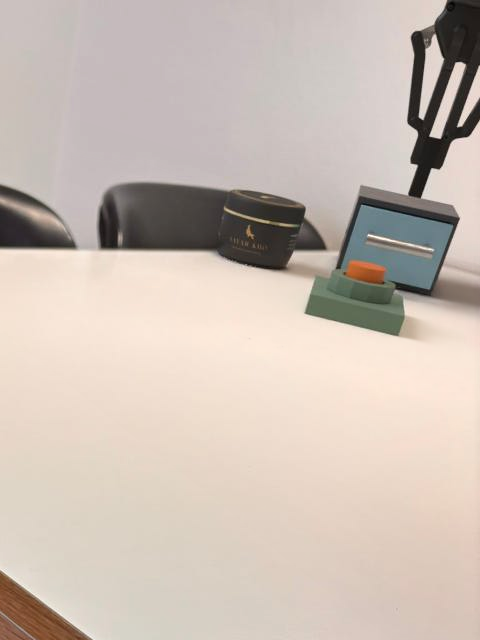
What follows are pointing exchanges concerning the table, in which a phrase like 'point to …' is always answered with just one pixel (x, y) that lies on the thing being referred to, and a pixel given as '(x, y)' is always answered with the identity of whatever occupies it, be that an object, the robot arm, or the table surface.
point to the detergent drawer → (398, 244)
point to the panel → (357, 302)
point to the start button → (366, 272)
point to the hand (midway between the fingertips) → (414, 195)
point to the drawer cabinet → (406, 206)
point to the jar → (259, 228)
